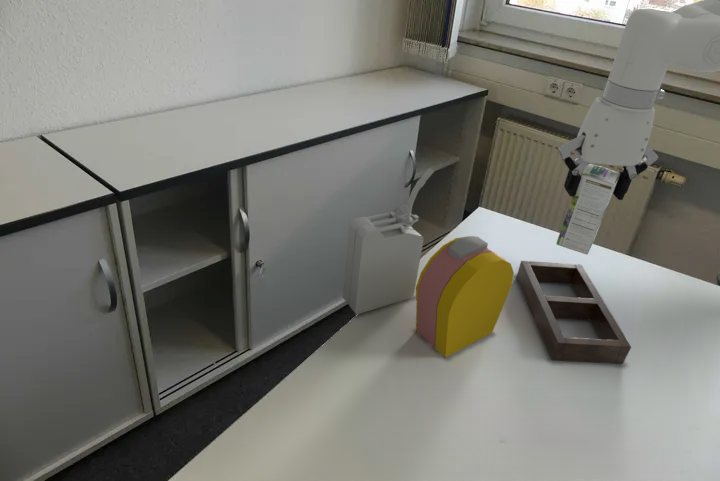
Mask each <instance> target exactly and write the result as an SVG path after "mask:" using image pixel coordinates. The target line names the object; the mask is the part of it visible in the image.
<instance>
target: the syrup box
mask: <svg viewBox="0 0 720 481" xmlns="http://www.w3.org/2000/svg"><path fill="white" fill-rule="evenodd" d="M580 175H581V180H580V183H579V186H578V189H577V192H576V195H575V196H574V197H571V200H570V203H569V206H568V209H567V212H566V214H565V218H564V220H563V222H562V226H561V229H560V231H559V234H558V237H557V240H556V243H555V245H556V246H560V247H562V248H566V249H569V250H571V251H574V252H577V253H580V254H582V255H583V254H584V255H588V254H589V252H590V251H591V248H592V246H593V244H594V242H595V240H596V237H597V235H598V232H599V229H600V227H601V224H602V223H603V219H604V217H605V214H606V212H607V209H608V207H609V204H610V202H611V199H612V196H613V195H614V194H613V191H614V189H615V186H616V184H617V181H618V179H619V176H620V173H619V172H618V171H615V170H613V169H610V168H607V167H604V166H602V165H598V164H591V163H590V164H589V165H588V166H587V167H586V168H585V169H584V170H582V171H581V173H580Z"/></svg>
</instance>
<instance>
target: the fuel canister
mask: <svg viewBox="0 0 720 481" xmlns="http://www.w3.org/2000/svg"><path fill="white" fill-rule="evenodd" d="M434 173H435V170H434V169H433V168H431V167H428V168H427V170H426V171H425V173H424V174H423V175H422V176H421V177H420V178H419V179H418V180H417V181H416V183H415V185H414V186H413V188H412V190H411V193H410V195H409V198H408V200H407V202H406V204H400V206H397V207H394V208H391V209H390V212H385V213H380V214H376V215H370V216H360V217H355V218H353V219H352V220H350V223H349V224H348V233H347V235H348V236H347V245H346V246H347V247H346V258H345V269H344V280H343V290H342V291H343V292H342V298H343V300H344V301H345V302H346V304H347V305H348V306H349V308H350V309H351V310H352V311H353V313H354V314H355V315H360V314H363V313H366V312H369V311H373V310H376V309H379V308H383V307H386V306H390V305H392V304H396V303H399V302H402V301H405V300H410V299H411V298H413V297H414V296H415V292H416V286H417V279H418V273H419V268H420V262H421V257H422V251H423V245H424V240H425V239H424V236H423V235H421V234H420V233H419V232H418V231H417V230H416V229H414V228H413V227H412V226H413V225H414V224H415V223H416V222H419V218H420V217H419V216H418V214H412V210H413V205H414V202H415V201H416V199H417V196H418V193H419V191H420V190H421V188H423V187H424V185H425V184H426V183H427V181H428V179H430V177H431V176H432V175H433V174H434ZM394 216H395V217H394Z"/></svg>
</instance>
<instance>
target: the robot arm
mask: <svg viewBox="0 0 720 481" xmlns="http://www.w3.org/2000/svg"><path fill="white" fill-rule="evenodd" d="M669 67H675V68H680V69H682V70H683V69H684V70H686V71H687V70H688V71H691V72H695V73H701V74H711V73H712V74H713V73H717V72H720V0H699V1H695V2H692V3H688V4H685V5H682V6H680V7H677V9H674V10H673V11H672V10H671V11H670V10H665V9H661V8H652V7H641V8H637V9H635V10H633V11H631V13H630V15H629V16H628V18H627V21H626V24H625V27H624V29H623V31H622V35H621V38H620V42H619V44H618V47H617V50H616V53H615V57H614V60H613V63H612V66H611V69H610V72H609V74H608V78H607V80H606V83H605V86H604V89H603V92H602V95H601V97H599V96H598V97H596V98H595V99H594V101H592V104H591V105H590V108H589V109H588V111H587V113H586V115H585V118H584V119H583V121H582V124H581V126H580V128H579V130H578V133H577V136H576V137H574V138H573V139H570V140H569V141H566V142H565V143H563V144H561V145H558V148H557V149H558V152H559V154H560V157H561V160H562V161H563V163H564V164H565V166H566V167H567V168H568V172H567V174H566V177H565V181H564V185H563V187H564V189H565V192H566V193H567V194H568V196H569V197H571V198H572V197H574V196H575V195H576V192H577V189H578V186H579V183H580V180H581V173H582V172H583V171H584V169H585V168H586V167H587V166H588V165H589V164H592V165H601V166H602V165H604V166H615V167H616V166H617V167H621V168H622V171H621V170H620V171H619V172H618V173H620V176H619V179H618V181H617V184H616V186H615V189H614V191H613V194H612V195H614V197H615V198H616V199H617V200H618V201H623V200H624V198H625V195H626V194H627V193H628V191H629V188H630V185H631V183H632V182H633V180H635V179H636V178H637V177H638V175H640V174H641V173H643V172H644V171H646V170H647V169H648V167H650V166H651V165H652V164H653V163H655V162H656V161H657V160H658V159H659V155H658V154H657V153H656V152H655V151H654V150H653V148H651V147H650V146H649V145H648V144H649V141H650V137H651V134H652V130H653V126H654V121H655V115H656V114H655V113H656V107H655V106H654V105H655V104H656V102H657V100H663V99H664V98H665V96H666V91H665V90H663V89H661V86H662V84H663V81H664V79H665V77H666V74H667V70H668V68H669ZM572 151H573V152H575V153H577V154H576V155H575V156H574V157H573V158H572V156H571V153H572Z"/></svg>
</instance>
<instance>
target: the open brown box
mask: <svg viewBox="0 0 720 481" xmlns="http://www.w3.org/2000/svg"><path fill="white" fill-rule="evenodd" d="M589 276H590V275H589V274H588V272H587V271H586V269H585V268H584V266H583V265H582V264H581V263H579V264H578V263H566V262H565V263H564V262H563V263H562V262H550V261H549V262H546V261H533V260H520V263H519V267H518V269H517V273H516V279H517V282H518V284H519V286H520V288H521V291H522V293H523V295H524V298H525V300H526V302H527V305H528V307H529V310H530V312H531V314H532V316H533V319H534V321H535V324H536V326H537V329H538V331H539V334H540V336H541V338H542V340H543V343H544V347H545V349H546V350H547V353H548V355H549V357H550V360H552V361H562V362H563V361H564V362H581V363H597V364H599V363H601V364H618V365H624V363H625V361H626V358H627V356H628V355H629V353H630V350H631V349H632V346H631V344H630V342H629V341H628V339H627V337H626V336H625V334H624V332H623V330H622V329H621V328H620V326H619V324H618V323H617V321H616V320H615V318H614V316H613V315H612V313H611V311H610V309H609V308H608V305H607V304H606V303H605V301H604V300H603V297H602V296H601V294H600V293H599V291H598V289H597V288H596V286H595V285H594V283H593V281H592V280H591V278H590V277H589ZM540 283H550V284H563V285H564V284H567V285H571V286H572V288H573V290H574V292H575V294H576V295H577V297H573V296H560V295H559V296H558V295H557V296H555V295H545V294H544V291H543V289H542V287H541V284H540ZM557 319H563V320H565V319H566V320H581V321H582V320H583V321H590V322H591V323H592V325H593V327H594V329H595V331H596V332H597V334H598V336H599V338H588V337H587V338H585V337H568V336H564V335H563V331H562V330H561V328H560V326H559V323H558V321H557Z"/></svg>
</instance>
